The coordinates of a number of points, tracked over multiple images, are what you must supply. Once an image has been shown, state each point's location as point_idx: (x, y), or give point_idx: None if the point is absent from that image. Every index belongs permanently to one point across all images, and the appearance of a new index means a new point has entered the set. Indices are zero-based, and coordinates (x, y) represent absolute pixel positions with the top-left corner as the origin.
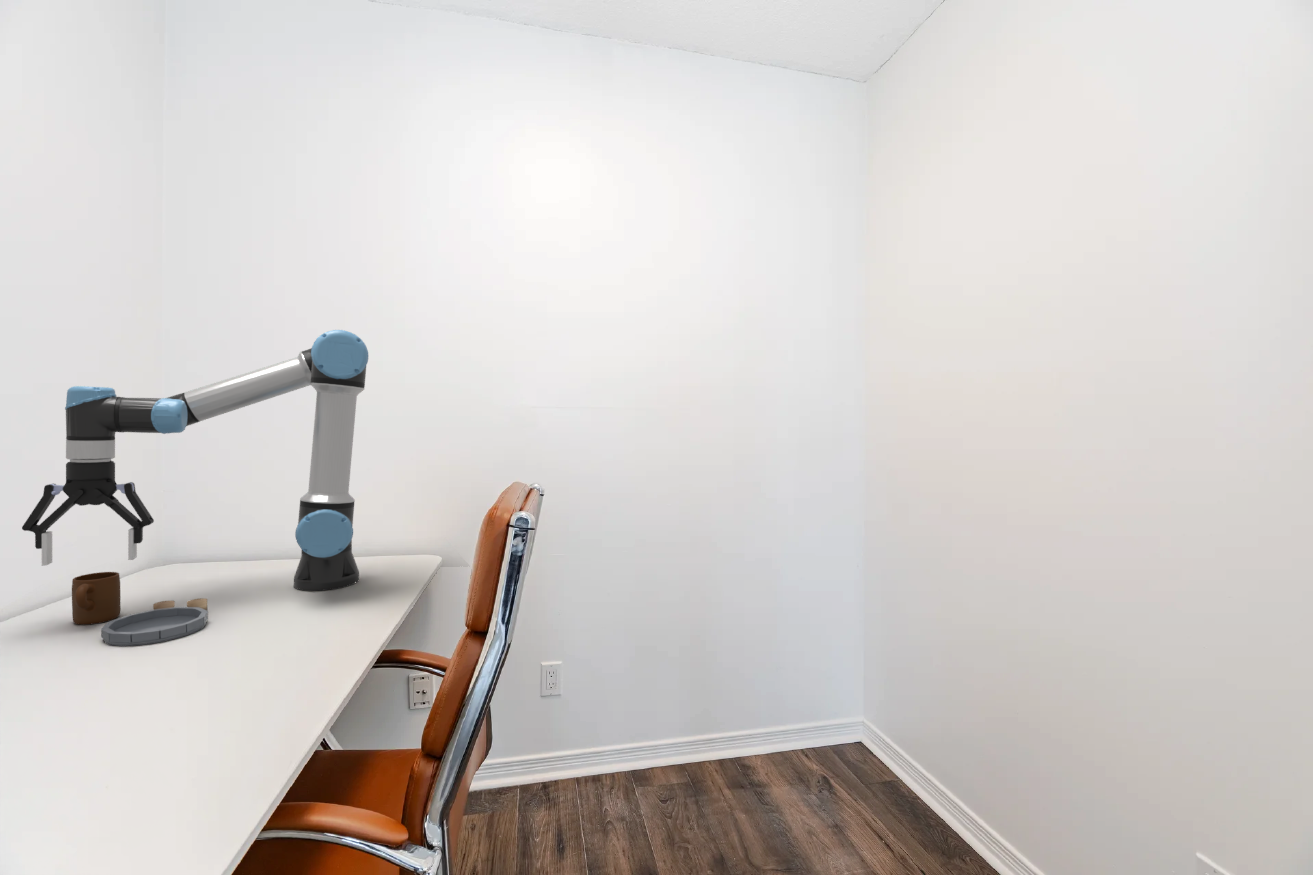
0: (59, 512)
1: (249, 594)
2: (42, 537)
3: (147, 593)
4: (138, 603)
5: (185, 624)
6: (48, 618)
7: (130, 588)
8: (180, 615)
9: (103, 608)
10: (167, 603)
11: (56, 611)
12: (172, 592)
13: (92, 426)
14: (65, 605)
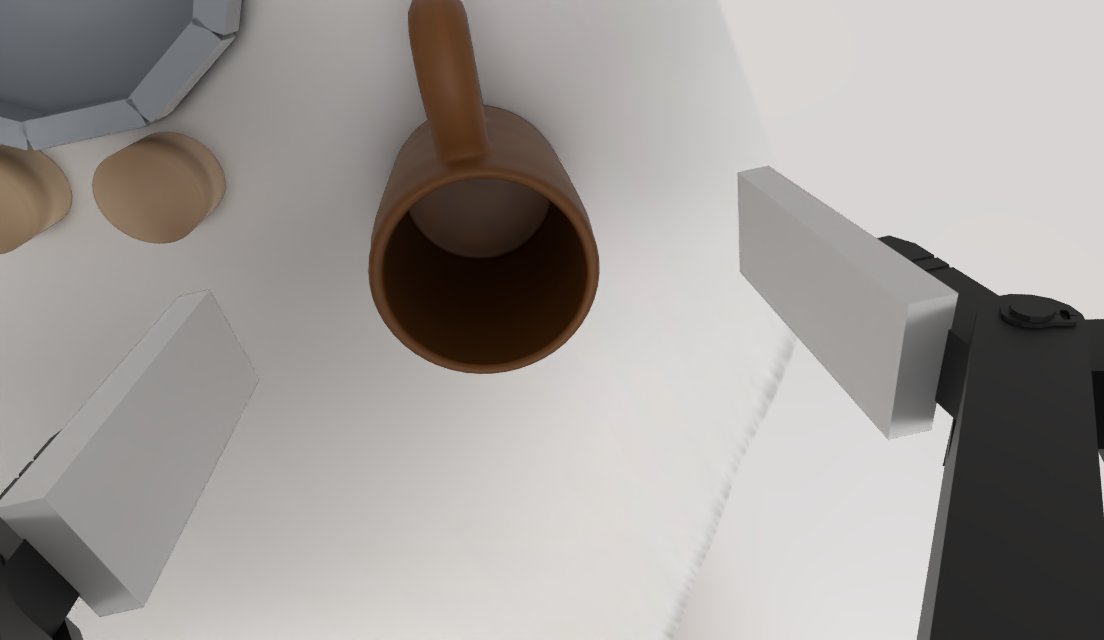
0: (995, 595)
1: (13, 447)
2: (916, 273)
3: (486, 494)
4: (441, 384)
5: None
6: (686, 244)
7: (581, 548)
8: (24, 107)
9: (410, 144)
10: (116, 185)
11: (698, 329)
12: (396, 498)
13: None
14: (701, 395)
